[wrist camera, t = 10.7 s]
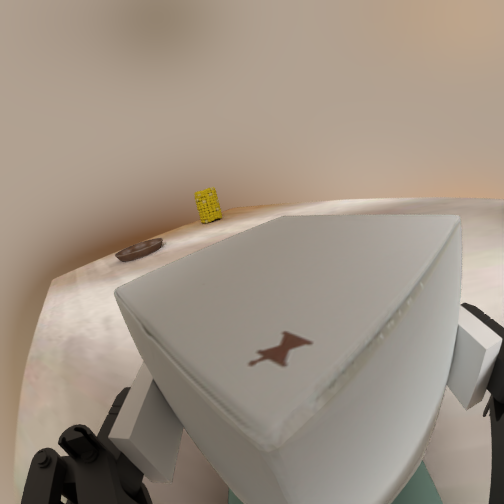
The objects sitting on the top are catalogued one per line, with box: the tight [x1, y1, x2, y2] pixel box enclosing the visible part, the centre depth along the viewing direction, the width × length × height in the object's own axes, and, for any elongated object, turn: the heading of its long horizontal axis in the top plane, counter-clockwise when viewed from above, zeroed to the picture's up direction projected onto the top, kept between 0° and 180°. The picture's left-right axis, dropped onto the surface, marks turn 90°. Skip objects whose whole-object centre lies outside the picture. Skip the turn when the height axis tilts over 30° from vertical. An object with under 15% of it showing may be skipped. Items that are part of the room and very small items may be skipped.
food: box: [194, 187, 222, 223], centre depth 118 cm, size 15×12×10 cm
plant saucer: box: [115, 238, 163, 262], centre depth 91 cm, size 18×18×3 cm
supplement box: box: [114, 215, 462, 504], centre depth 8 cm, size 7×7×13 cm
